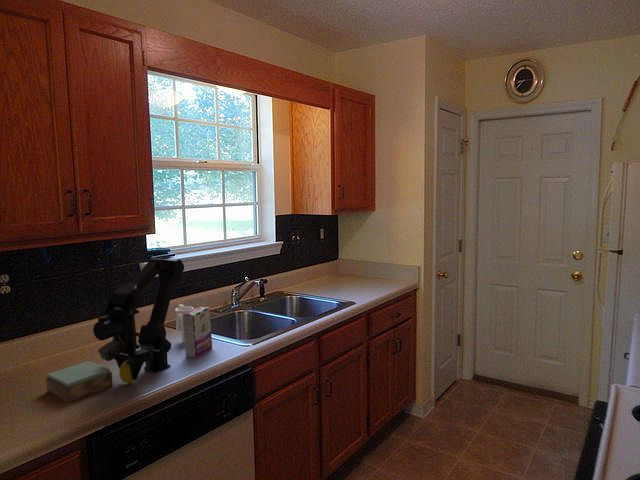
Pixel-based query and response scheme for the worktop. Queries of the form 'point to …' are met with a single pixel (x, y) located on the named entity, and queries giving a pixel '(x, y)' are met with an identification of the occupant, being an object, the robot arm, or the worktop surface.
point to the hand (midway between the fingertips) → (129, 377)
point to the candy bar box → (197, 332)
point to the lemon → (125, 373)
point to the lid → (78, 373)
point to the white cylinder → (181, 318)
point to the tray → (79, 387)
